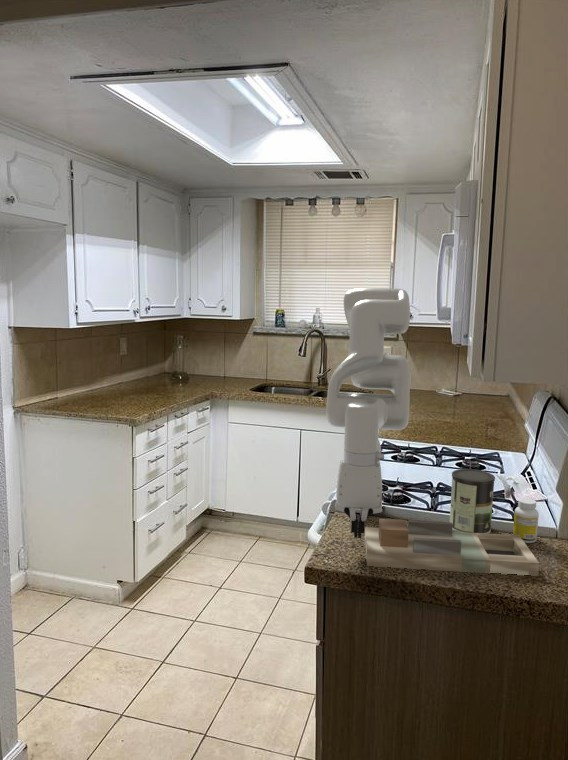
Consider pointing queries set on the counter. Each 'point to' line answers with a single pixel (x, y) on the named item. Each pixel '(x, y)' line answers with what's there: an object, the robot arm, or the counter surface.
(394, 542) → the walnut block
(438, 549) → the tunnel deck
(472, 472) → the coffee can
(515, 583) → the counter surface
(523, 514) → the supplement bottle
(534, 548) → the counter surface
